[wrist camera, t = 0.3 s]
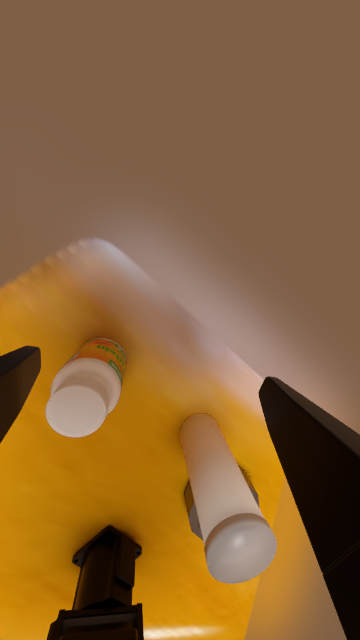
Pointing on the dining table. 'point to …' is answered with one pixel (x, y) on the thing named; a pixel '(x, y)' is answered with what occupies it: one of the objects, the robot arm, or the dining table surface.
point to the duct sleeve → (224, 505)
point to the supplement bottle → (86, 388)
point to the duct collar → (192, 508)
